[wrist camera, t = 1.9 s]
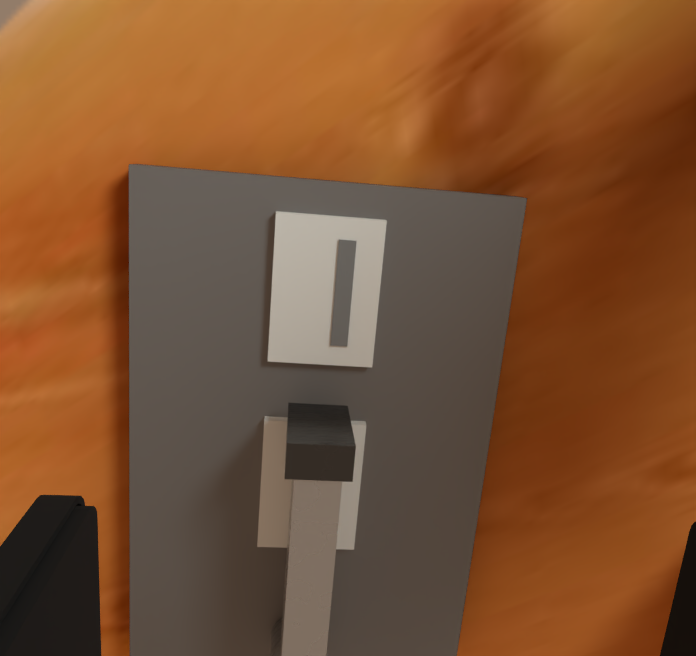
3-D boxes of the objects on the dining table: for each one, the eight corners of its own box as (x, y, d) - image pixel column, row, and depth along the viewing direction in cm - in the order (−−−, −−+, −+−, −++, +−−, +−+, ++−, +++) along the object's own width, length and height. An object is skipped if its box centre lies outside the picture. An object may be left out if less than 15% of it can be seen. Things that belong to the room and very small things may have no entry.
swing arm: (286, 394, 31) (284, 443, 26) (348, 397, 31) (358, 446, 26) (269, 657, 35) (264, 746, 29) (324, 658, 35) (328, 746, 30)
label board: (137, 163, 29) (125, 164, 27) (516, 196, 31) (531, 199, 29) (136, 639, 36) (126, 668, 34) (449, 644, 37) (457, 671, 35)
